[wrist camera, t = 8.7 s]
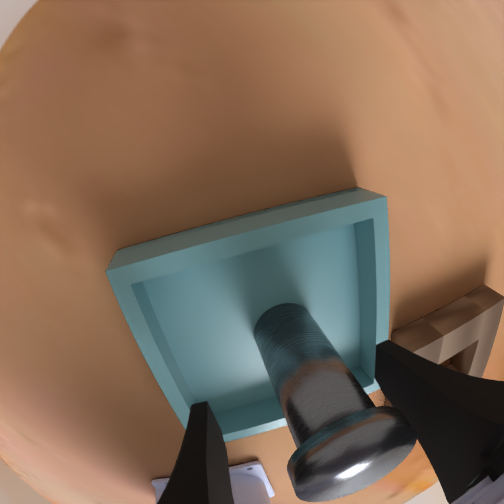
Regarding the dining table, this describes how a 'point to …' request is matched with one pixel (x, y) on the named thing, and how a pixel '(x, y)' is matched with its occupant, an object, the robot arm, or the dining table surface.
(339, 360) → the steel pin
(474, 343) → the brown wooden square frame
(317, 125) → the dining table surface
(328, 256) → the tray
